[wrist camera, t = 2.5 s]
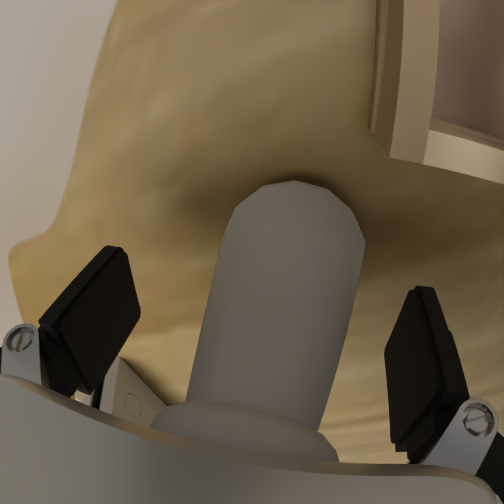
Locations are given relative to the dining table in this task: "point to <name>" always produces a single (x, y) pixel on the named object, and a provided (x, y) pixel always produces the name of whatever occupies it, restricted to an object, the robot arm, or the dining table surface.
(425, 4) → the corner tray
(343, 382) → the dining table surface
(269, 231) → the salt shaker
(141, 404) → the white rounded block
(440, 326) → the robot arm
